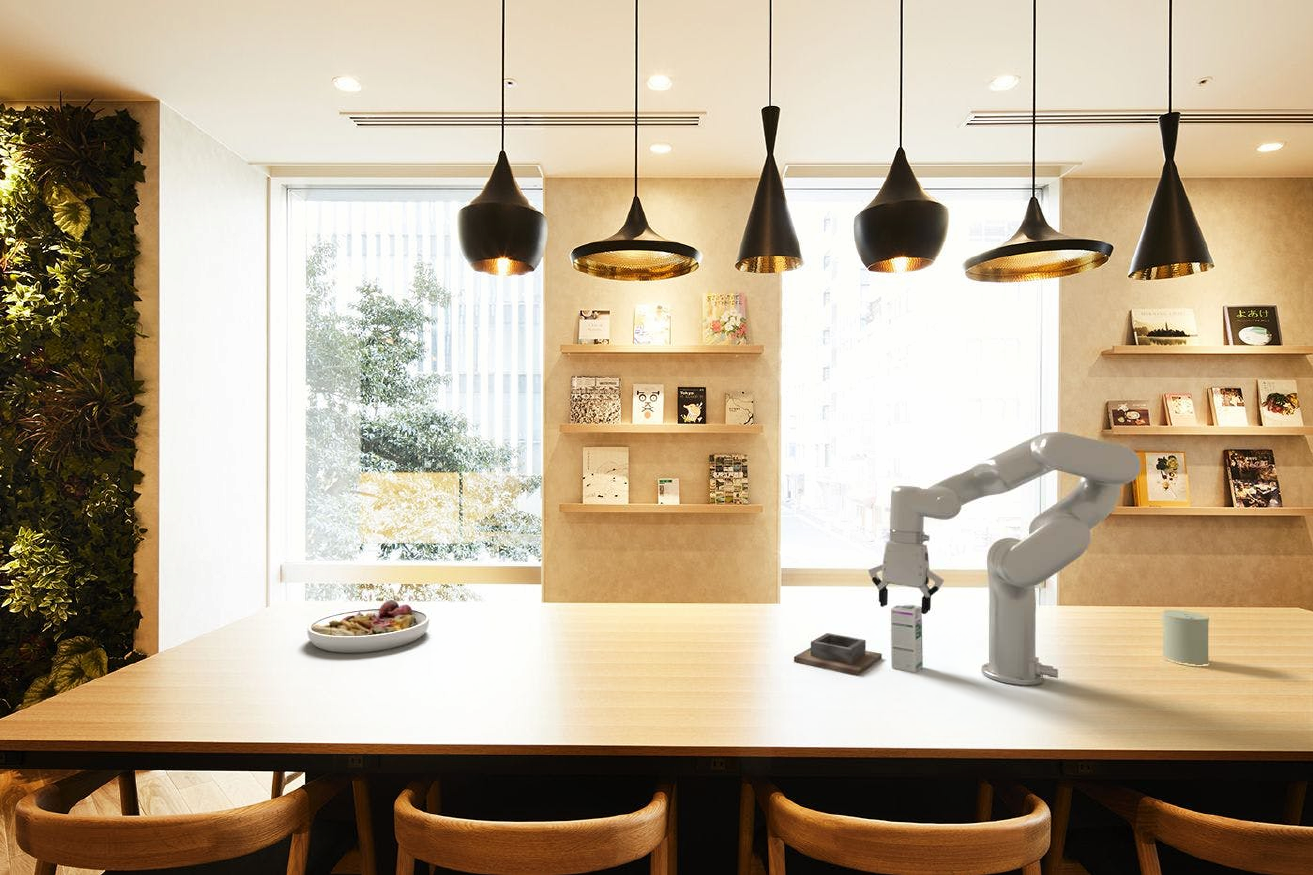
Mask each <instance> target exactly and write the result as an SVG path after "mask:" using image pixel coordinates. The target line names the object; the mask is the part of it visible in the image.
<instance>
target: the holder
mask: <svg viewBox="0 0 1313 875" xmlns="http://www.w3.org/2000/svg"><path fill="white" fill-rule="evenodd" d="M866 640H867V639H862V638H856V637H851V636H846V635H845V636H844V635H839V634H834V633H828V632H827V633H825V634H823V635H821V636H818V637H817V638H815V639H814V640H812V641H811V640H810V647H808V649H806V650H804V651H801V652H800V653H798V654H796V655H795V656H793V662H794V663H799V664H802V665H803V664H804V665H806V666H807V665H808V666H813V667H817V668H821V669H826V670H831V671H836V672H840V673H844V674H849V675H853V676H857V677H858V676H860V675H861V674H863V673H864V672H865V671H867V670H868V669H869V668H871V667H873V665H875V664H877V663H878V662H879V661H880V660H882V658H883V657H882V656H883V654H882V653H879V652H876V651H870V650H866V647H867V646H866V642H867V641H866Z"/></svg>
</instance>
